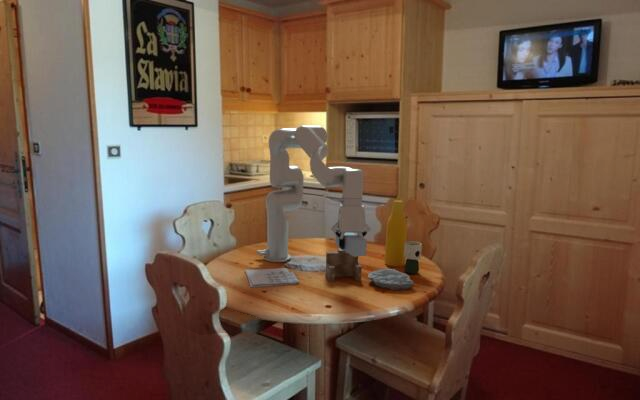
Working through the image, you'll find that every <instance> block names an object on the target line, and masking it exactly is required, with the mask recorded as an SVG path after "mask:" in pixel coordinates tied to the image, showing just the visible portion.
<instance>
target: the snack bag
mask: <svg viewBox="0 0 640 400" xmlns="http://www.w3.org/2000/svg"><path fill="white" fill-rule="evenodd" d="M244 273H245V274H246V276H247V280H248V283H249V286H250V287H251V288H258V287H259V288H260V287H270V286H272V287H273V286H284V285H298V284H299V283H300V281H299V279H298V278H297V276H296V275H295V274H294V272H293V271H292V272H290V271H289V269H288V268H286V267H285V268H284V267H279V268H262V269H261V268H260V269H258V268H257V269H245V270H244Z"/></svg>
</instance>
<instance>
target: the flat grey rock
mask: <svg viewBox="0 0 640 400" xmlns="http://www.w3.org/2000/svg"><path fill="white" fill-rule="evenodd" d="M367 278H368V279H370V280H371V281H372V283H374V285H375V286H377V287H379V288H382V289H388V290H394V291H396V290H397V291H398V290H404V289H405V290H407V289H411V287H413V285H414V284H415V283H414V281H413V280H412V279H410V278H411V277H410V274H407V273H406V272H401V271H398V270H397V269H394V268H393V269H392V268H383V269H381V268H379V269H375V270H373V271H371V272H369V273H368V274H367Z"/></svg>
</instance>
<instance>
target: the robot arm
mask: <svg viewBox="0 0 640 400" xmlns="http://www.w3.org/2000/svg"><path fill="white" fill-rule="evenodd" d="M327 141H328V133H327V130H326V129H325V128H324V127H323V126H321V125H314V124H313V125H311V124H309V125H307V124H306V125H305V124H303V125H300V126H298V127H297V128H278V129H275V130H274V131H272V132H271V133H270V135H269V137H268V150H269V155H270V156H269V157H270V160H269V183H270V185H271V187H272V188H277V189H278V188H287V189H282V190H281V189H278V190H272V191H270V192H268V193H267V194H266V196H265V207H266V217H267V223H266V224H267V225H266V227H267V230H266V231H267V236H266V237H267V238H266V239H267V240H266V241H267V243H266V246H267V247H266V248H265V249H260V250H259V249H258V250H256V254H257V255H259V256H263V259H264V260H265V261H267V262H271V263H284V262H285V261H286V262H288V261H287V260H289V259H290V258H291V259H292V255H290V253H289V219H288V216H287V214H286V213H285V212H286V211H293V210H298V209H299V208H300V207H301V206H302V203H303V198H304V197H303V196H304V174H303V170H302V169H301V168H300V167H299V166H297V165H290V154H289V152H288V150H287V149H302V150H303V151H304V153H305V154H306V155H307V156H308V157H309V167H310V168H309V169H310V172H311V174H312V176H313V177H314V179H315V180H316V181H318V183H319V184H320V185H322V186H323V187H325V188H333V187H342V196H341V198H338V199H337V200H338V203H341V204H339V205H340V207H339V209H338V216H337V222H336V223H335V224H334V225H333V226H331V228H330V231H332V233H334V235H335V236H336V235H337V236H338V237H339V247H340V248H341V249H344V239H343V237H344V234H345V233H357V234H356V235H358V236H360V237H362V238H364V237H365V236H367V234H368V233H369V232H370V231H371V227H370V226H369V225H368V224H367V222H366V209H365V206H364V205H363V196H364V195H363V193H364V192H363V189H364V171H363V170H362V169H359V168H351V167H349V166H327V165H326V164H325V163H324V162H323V160H324V159H325V158H326V157H327V156H328V154H329V146H328V145H327V144H326V143H327ZM337 228H338V229H339V230H340V233H339V232H338V231H336V229H337ZM339 247H338V248H339ZM340 248H339V249H340ZM291 259H290V260H291ZM290 260H289V261H290ZM286 262H285V263H286Z"/></svg>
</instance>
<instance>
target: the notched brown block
mask: <svg viewBox="0 0 640 400" xmlns="http://www.w3.org/2000/svg"><path fill="white" fill-rule="evenodd" d="M325 253H326V255H325V277H326V278H327V280H328V282H329V283H334V282H335V278H338V277H339V278H341V277H342V278H343V277H352V278H353V279H354V280H355V281H356V282H361V281H362V269H363V267H362V265H361V263H359V256H356V257H354V256H352V255H350V254H349V253H347V252H345V251H344V250H342V249H340V248H337V251H326V252H325Z"/></svg>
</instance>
